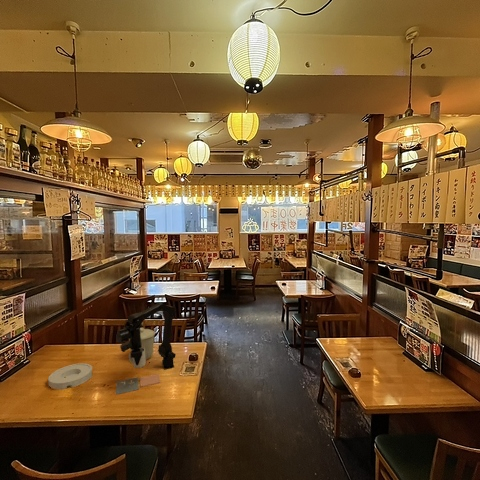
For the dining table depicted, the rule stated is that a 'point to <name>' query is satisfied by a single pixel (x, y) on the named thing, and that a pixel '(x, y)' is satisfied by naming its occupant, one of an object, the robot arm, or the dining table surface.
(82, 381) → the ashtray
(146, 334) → the canister
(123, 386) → the tile
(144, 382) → the coaster pad
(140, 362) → the cup
